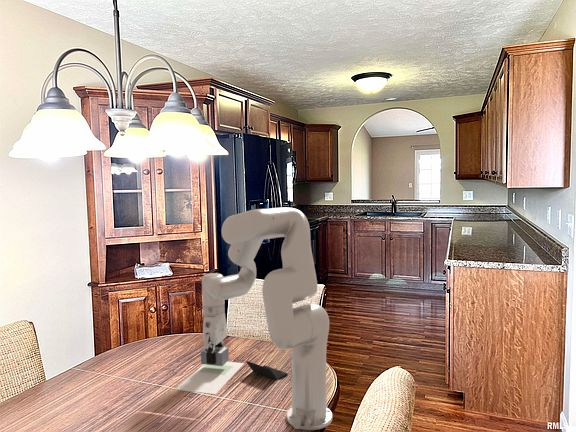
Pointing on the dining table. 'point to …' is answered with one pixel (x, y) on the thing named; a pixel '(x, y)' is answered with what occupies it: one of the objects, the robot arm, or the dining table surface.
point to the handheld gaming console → (267, 371)
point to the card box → (217, 356)
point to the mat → (210, 378)
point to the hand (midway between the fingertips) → (215, 359)
